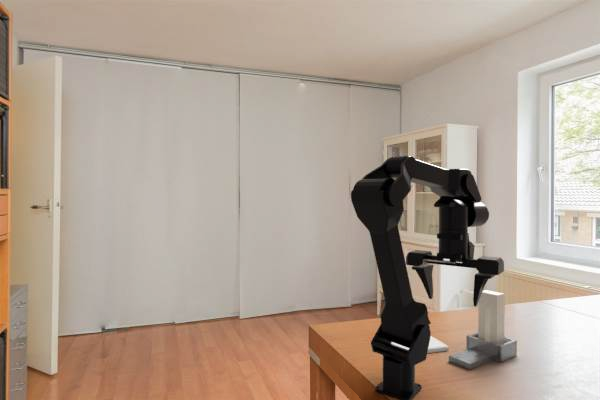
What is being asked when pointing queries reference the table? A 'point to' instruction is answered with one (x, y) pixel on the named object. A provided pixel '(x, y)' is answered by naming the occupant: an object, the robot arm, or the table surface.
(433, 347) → the external hard drive
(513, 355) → the grey tray with tab
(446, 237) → the robot arm
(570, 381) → the table surface
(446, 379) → the table surface
